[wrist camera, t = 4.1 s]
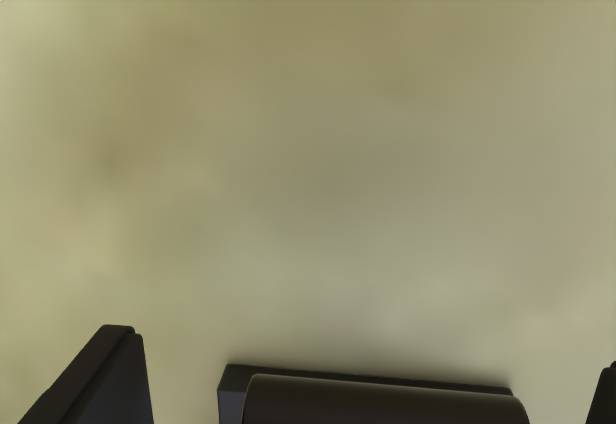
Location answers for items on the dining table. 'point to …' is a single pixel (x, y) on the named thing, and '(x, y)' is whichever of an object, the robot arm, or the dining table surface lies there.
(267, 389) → the switch lever
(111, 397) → the robot arm
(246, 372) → the switch bracket
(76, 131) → the dining table surface
